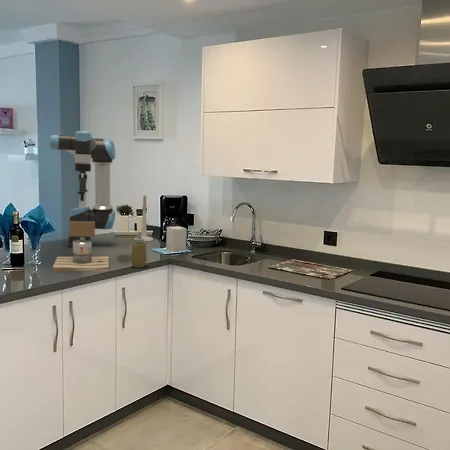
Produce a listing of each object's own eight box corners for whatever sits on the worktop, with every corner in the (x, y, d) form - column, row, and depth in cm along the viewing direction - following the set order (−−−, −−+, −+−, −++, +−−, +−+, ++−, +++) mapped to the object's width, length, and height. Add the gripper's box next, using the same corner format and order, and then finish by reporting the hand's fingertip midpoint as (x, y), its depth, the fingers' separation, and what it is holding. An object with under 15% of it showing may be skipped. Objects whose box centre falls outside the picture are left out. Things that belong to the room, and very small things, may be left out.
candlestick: (135, 242, 331) (136, 195, 327) (132, 238, 343) (133, 193, 339) (155, 241, 335) (156, 196, 331) (151, 238, 347) (152, 194, 343)
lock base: (57, 260, 268) (57, 249, 267) (108, 260, 274) (108, 249, 273) (52, 271, 243) (52, 259, 242) (108, 271, 249) (108, 259, 248)
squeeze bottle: (133, 268, 257) (134, 233, 254) (128, 265, 264) (129, 230, 261) (148, 267, 260) (149, 232, 258) (143, 264, 268) (144, 230, 265)
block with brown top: (70, 251, 261) (70, 220, 259) (94, 251, 263) (95, 220, 261) (69, 255, 251) (69, 223, 249) (94, 255, 254) (94, 223, 251)
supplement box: (186, 253, 302) (187, 228, 300) (172, 254, 297) (173, 228, 295) (178, 250, 309) (179, 226, 307) (165, 251, 304) (166, 226, 302)
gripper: (76, 162, 263) (76, 203, 266) (73, 163, 239) (73, 208, 241) (91, 162, 264) (91, 203, 267) (90, 164, 240) (89, 209, 243)
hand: (82, 206), depth 254 cm, fingers open, 13 cm apart
